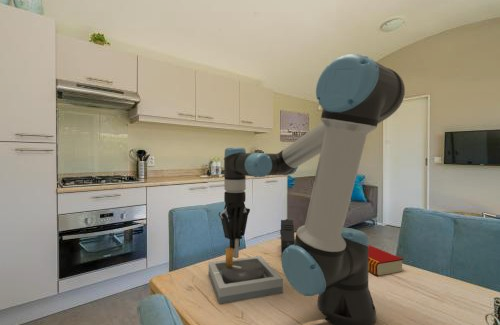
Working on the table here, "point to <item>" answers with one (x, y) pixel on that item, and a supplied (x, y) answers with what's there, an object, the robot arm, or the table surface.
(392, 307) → the table surface
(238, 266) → the crank dial
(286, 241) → the tool
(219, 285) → the square crank box
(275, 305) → the table surface
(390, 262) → the book
